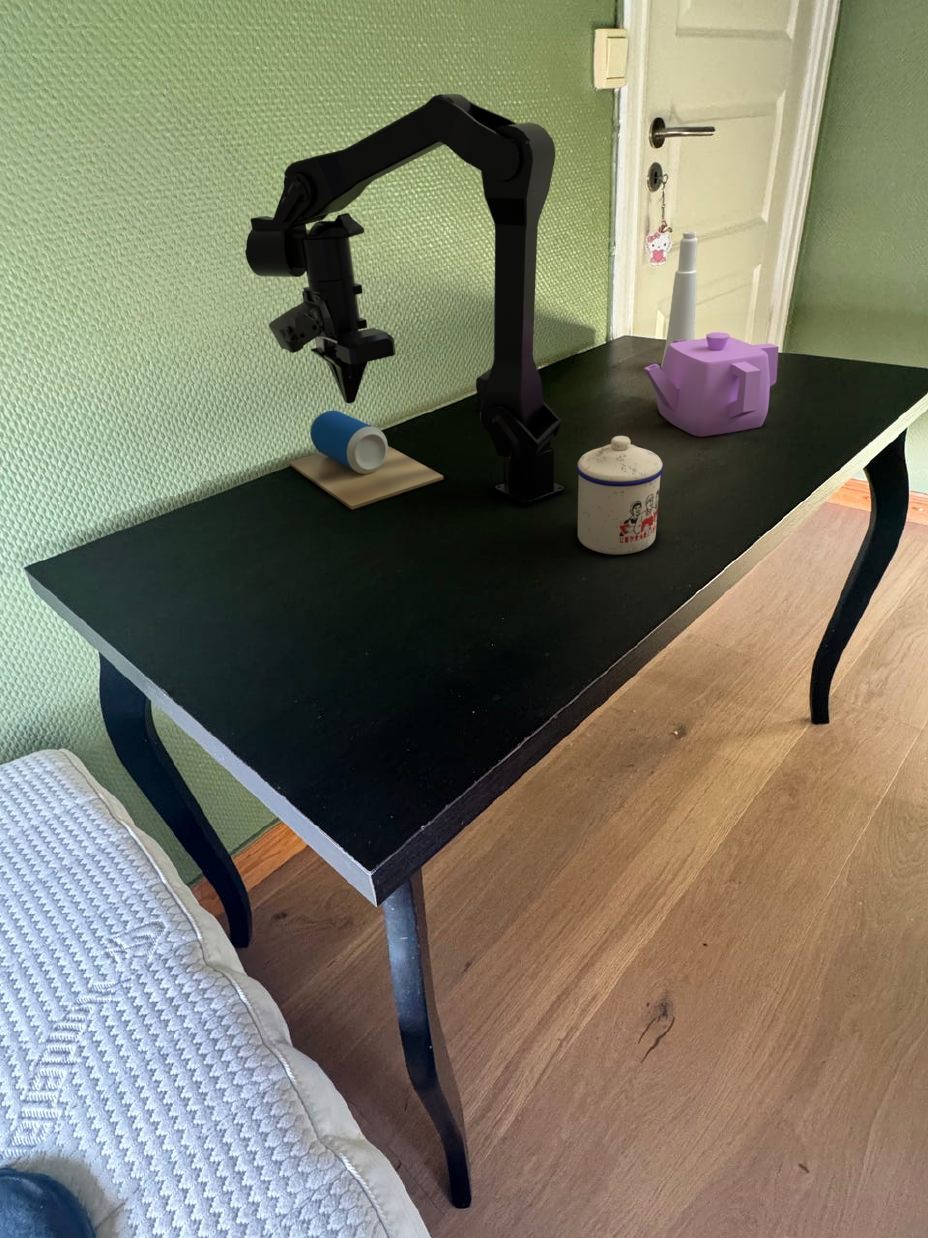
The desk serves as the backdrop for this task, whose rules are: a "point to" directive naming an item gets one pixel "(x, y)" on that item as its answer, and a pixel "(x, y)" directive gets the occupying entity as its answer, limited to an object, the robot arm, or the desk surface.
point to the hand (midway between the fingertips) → (349, 402)
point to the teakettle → (715, 384)
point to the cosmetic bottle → (684, 293)
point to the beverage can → (349, 441)
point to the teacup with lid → (618, 497)
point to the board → (366, 478)
